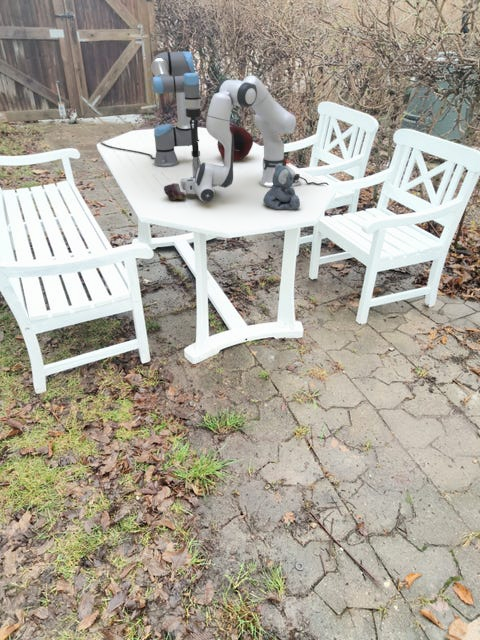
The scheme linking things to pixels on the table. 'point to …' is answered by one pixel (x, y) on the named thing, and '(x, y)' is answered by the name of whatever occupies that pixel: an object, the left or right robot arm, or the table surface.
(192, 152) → the cap
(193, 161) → the bottle
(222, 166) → the right robot arm
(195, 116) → the left robot arm
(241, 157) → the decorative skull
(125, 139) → the table surface
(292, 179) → the koala plush
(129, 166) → the table surface
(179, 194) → the rock
